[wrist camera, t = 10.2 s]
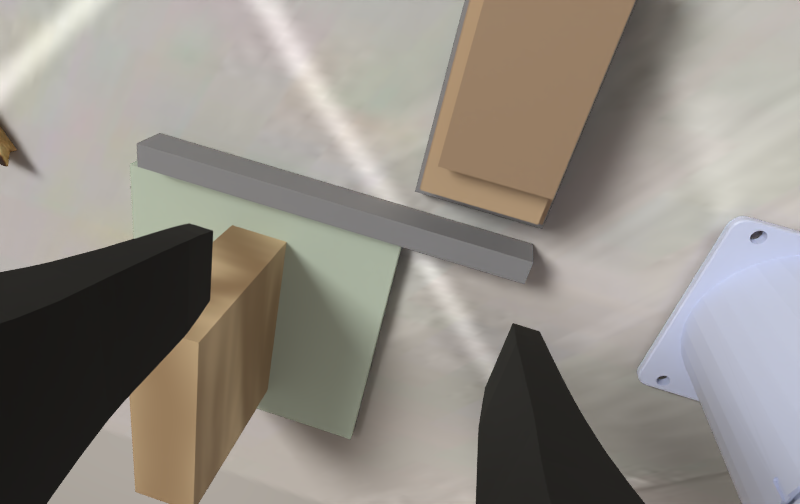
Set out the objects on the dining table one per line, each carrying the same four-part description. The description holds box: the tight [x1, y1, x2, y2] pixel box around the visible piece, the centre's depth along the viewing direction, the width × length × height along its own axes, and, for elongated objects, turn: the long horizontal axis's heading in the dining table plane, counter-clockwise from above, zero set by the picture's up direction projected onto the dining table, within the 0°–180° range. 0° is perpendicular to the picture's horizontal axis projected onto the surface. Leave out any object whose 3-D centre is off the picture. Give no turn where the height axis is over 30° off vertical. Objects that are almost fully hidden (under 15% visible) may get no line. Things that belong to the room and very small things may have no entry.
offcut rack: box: [137, 0, 637, 284], centre depth 17 cm, size 16×15×3 cm
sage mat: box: [130, 161, 402, 440], centre depth 25 cm, size 12×12×1 cm
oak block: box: [130, 225, 287, 504], centre depth 21 cm, size 2×9×7 cm, turn 167°
